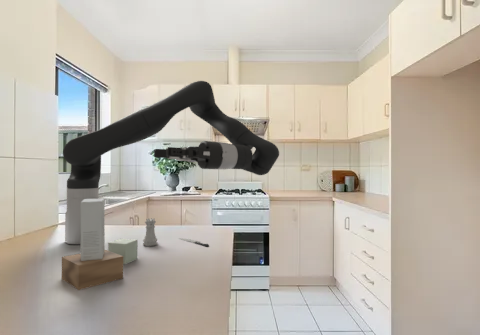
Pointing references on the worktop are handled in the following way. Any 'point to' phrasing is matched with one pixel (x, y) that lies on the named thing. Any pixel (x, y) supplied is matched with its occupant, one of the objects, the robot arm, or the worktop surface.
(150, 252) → the worktop surface
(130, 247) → the grey-green cube
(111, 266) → the walnut block
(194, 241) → the chef's knife
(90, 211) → the skincare box
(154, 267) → the worktop surface
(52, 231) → the worktop surface
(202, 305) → the worktop surface
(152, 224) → the rook chess piece
